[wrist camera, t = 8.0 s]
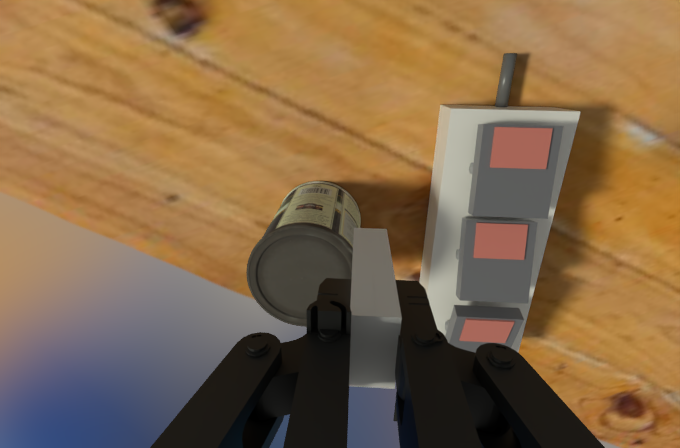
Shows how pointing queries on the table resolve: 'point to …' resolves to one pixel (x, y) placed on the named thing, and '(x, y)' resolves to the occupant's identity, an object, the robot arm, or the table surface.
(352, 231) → the coffee can
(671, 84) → the table surface
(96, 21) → the table surface
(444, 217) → the power strip
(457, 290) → the rocker
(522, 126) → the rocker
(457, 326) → the rocker
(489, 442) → the robot arm
